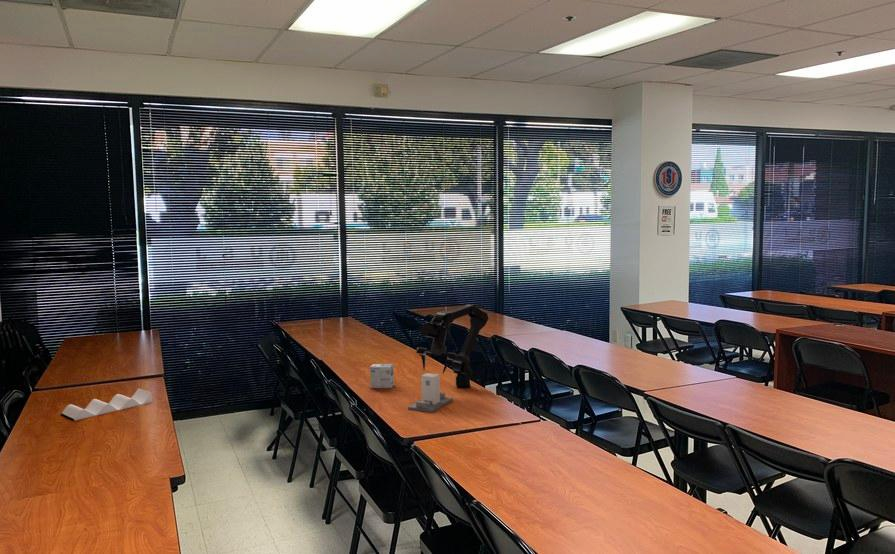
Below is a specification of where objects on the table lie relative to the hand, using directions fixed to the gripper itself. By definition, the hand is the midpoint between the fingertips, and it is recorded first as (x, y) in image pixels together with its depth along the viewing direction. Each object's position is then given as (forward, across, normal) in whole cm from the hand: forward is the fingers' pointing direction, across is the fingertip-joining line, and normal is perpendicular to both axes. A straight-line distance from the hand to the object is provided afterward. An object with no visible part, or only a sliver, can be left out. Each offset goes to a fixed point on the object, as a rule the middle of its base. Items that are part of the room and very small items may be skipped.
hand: (433, 371), depth 315 cm
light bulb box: (+13, -25, +16) cm, 32 cm away
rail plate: (+14, +2, -15) cm, 20 cm away
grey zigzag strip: (+41, -140, -21) cm, 148 cm away
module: (+13, +2, -15) cm, 20 cm away
